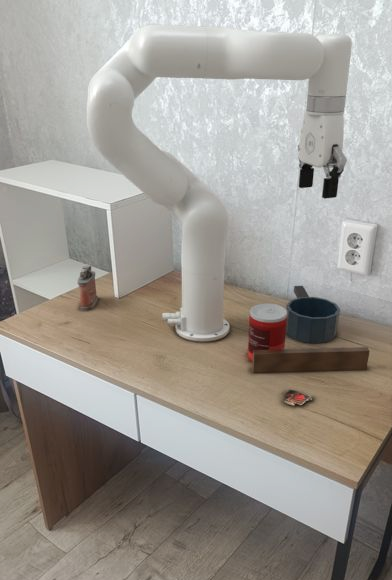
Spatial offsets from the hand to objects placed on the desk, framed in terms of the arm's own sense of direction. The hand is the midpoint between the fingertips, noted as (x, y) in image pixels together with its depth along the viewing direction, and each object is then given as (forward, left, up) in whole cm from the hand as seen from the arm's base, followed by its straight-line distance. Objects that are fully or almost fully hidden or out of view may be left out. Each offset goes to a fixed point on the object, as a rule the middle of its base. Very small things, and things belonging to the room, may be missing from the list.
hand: (316, 192), depth 119 cm
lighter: (-53, +13, -31) cm, 62 cm away
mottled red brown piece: (-9, -33, -30) cm, 46 cm away
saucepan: (0, -1, -31) cm, 31 cm away
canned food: (-12, -17, -31) cm, 37 cm away
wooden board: (-4, -22, -31) cm, 38 cm away
